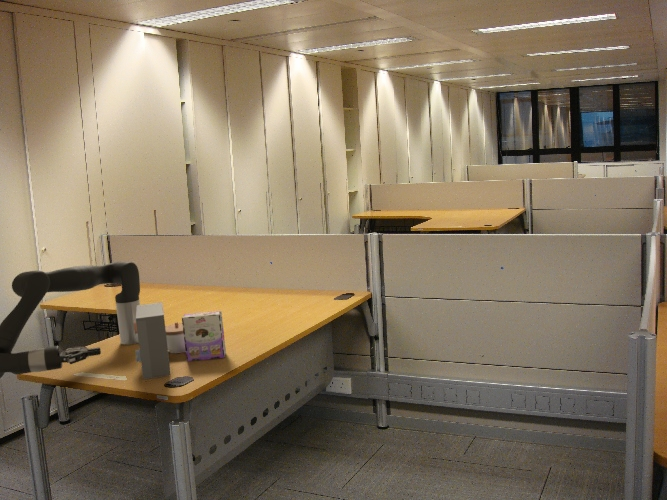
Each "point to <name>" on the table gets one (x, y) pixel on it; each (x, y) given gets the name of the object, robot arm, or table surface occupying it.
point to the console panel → (152, 340)
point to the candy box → (204, 336)
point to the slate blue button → (138, 355)
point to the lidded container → (175, 338)
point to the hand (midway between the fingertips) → (100, 350)
